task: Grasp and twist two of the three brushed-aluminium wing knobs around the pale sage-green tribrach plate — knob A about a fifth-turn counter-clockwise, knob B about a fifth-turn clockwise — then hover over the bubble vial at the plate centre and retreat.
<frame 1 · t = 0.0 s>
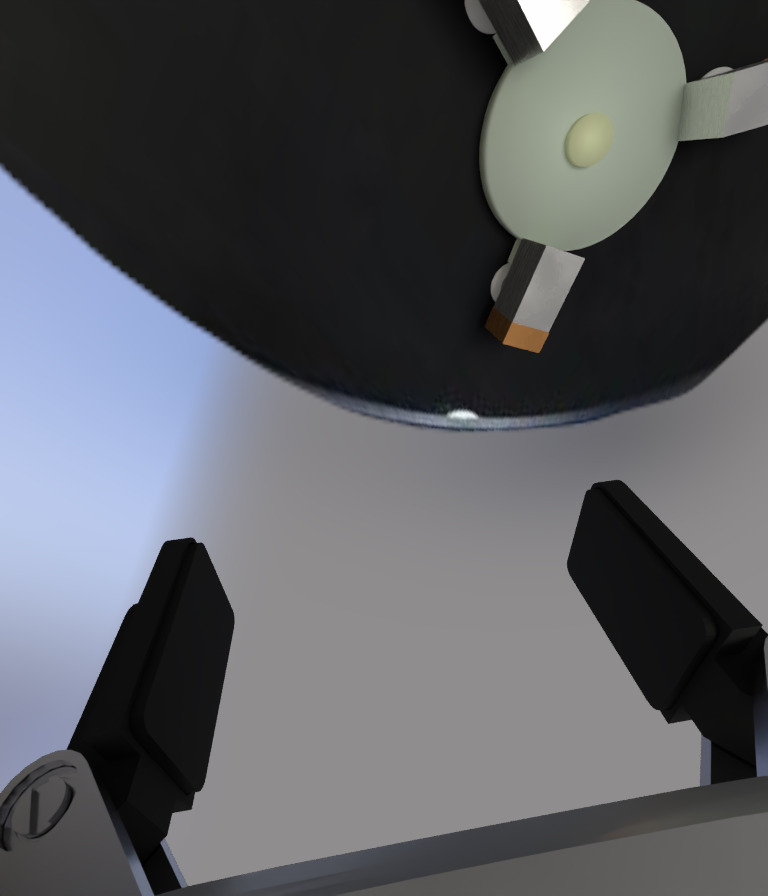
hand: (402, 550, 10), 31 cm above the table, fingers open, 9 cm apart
tribrach: (572, 142, 33), on the table
knob c: (527, 293, 35), point 4 cm above the table, hinge at 0.0°
knob a: (748, 95, 30), point 4 cm above the table, hinge at 0.0°
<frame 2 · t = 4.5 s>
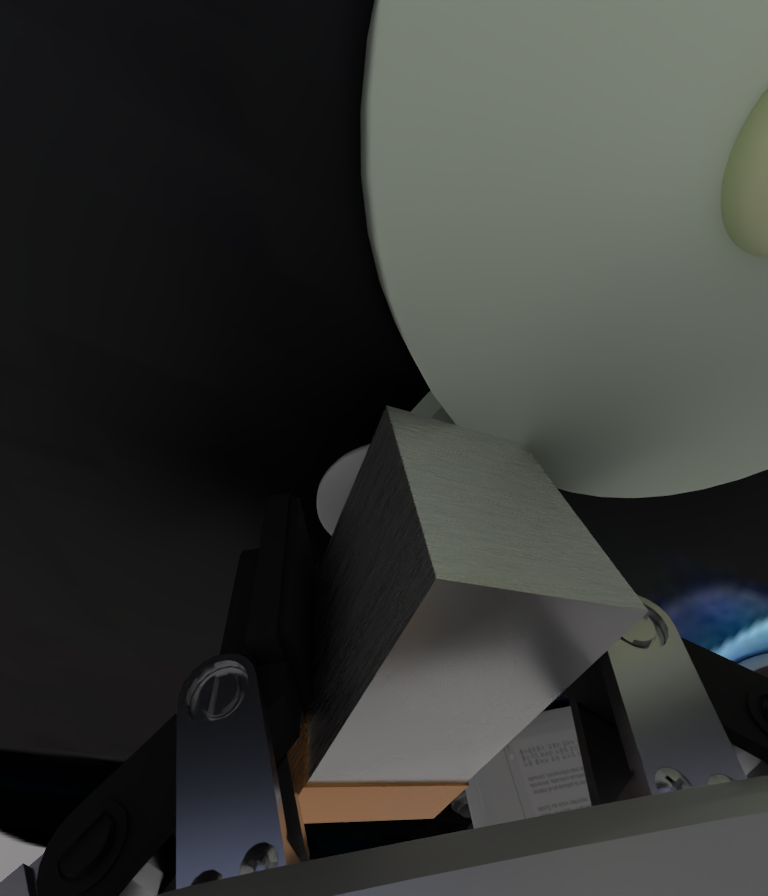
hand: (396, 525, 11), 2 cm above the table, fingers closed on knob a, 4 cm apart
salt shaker: (487, 793, 29), on the table
tribrach: (721, 155, 9), on the table
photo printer: (541, 716, 23), on the table
knob a: (404, 595, 10), point 4 cm above the table, hinge at 19.2°, touching gripper
supplement bottle: (745, 671, 23), on the table
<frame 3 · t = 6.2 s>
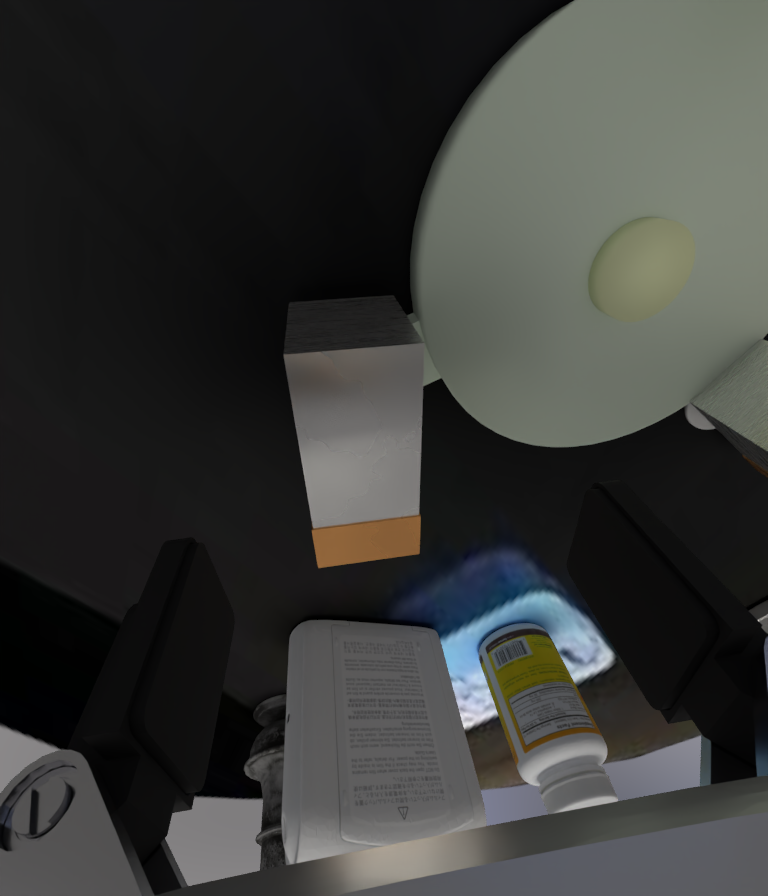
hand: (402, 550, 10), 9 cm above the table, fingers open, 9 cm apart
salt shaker: (288, 707, 33), on the table
tribrach: (599, 258, 16), on the table
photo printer: (364, 633, 29), on the table
knob a: (354, 422, 15), point 4 cm above the table, hinge at 67.9°
supplement bottle: (510, 638, 32), on the table
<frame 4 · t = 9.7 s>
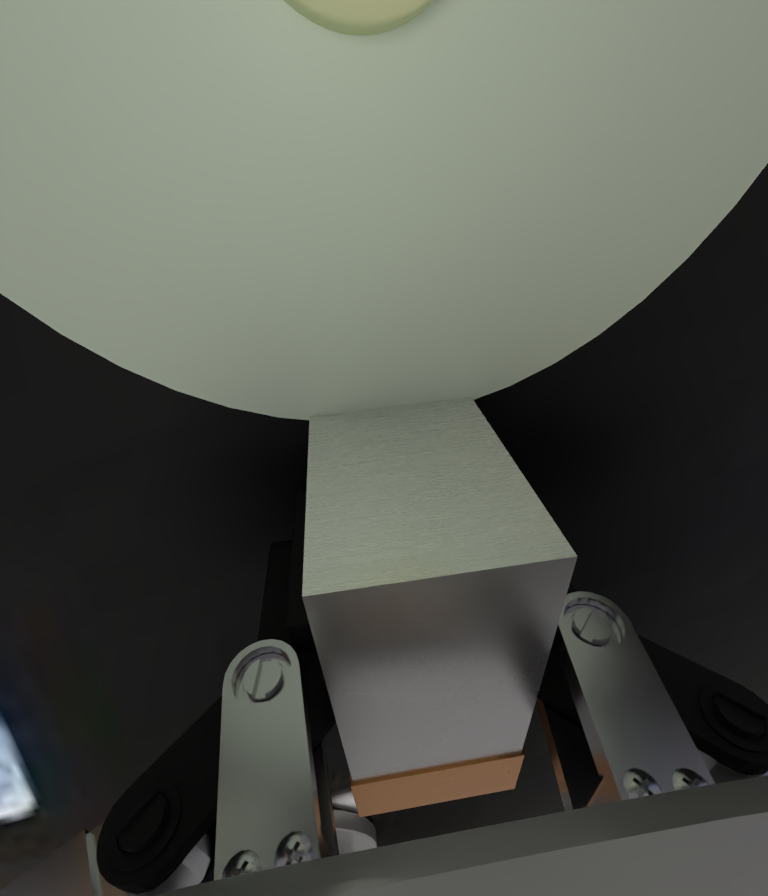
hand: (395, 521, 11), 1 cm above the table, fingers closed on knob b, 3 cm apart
knob b: (409, 584, 10), point 4 cm above the table, hinge at -0.1°, touching gripper
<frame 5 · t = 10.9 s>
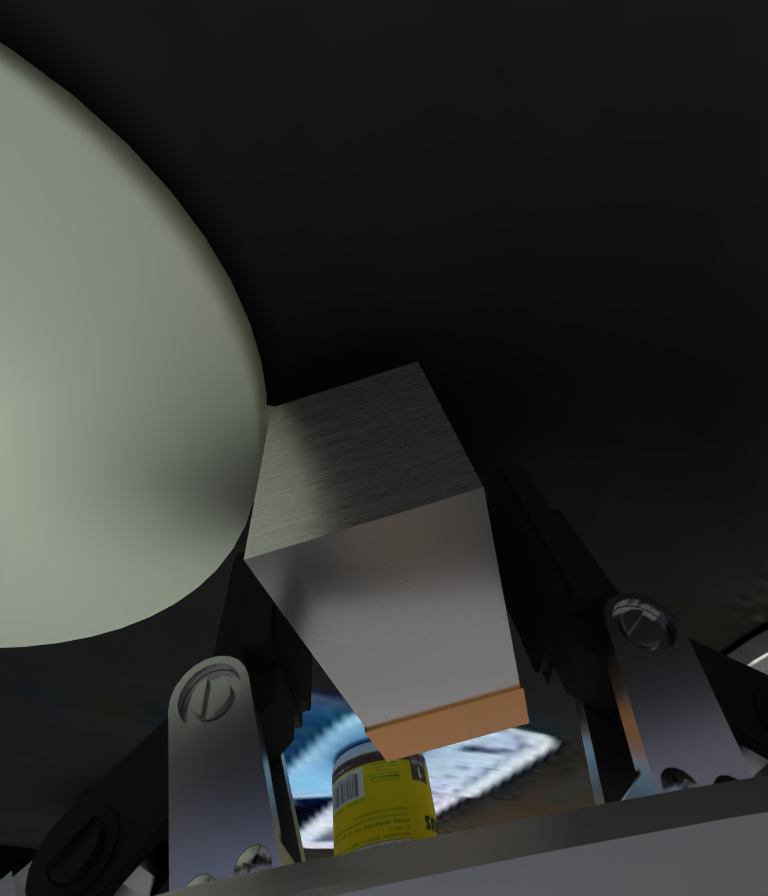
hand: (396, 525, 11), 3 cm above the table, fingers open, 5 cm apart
knob b: (397, 546, 10), point 4 cm above the table, hinge at -57.5°
supplement bottle: (377, 751, 25), on the table
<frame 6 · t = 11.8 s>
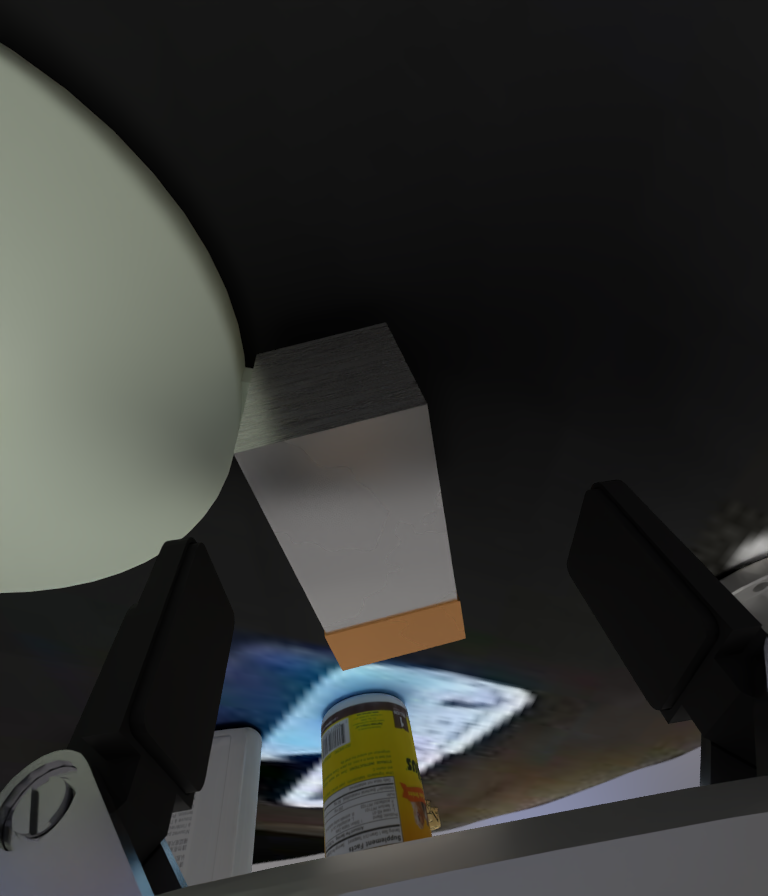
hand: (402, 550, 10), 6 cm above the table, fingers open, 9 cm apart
knob b: (361, 485, 12), point 4 cm above the table, hinge at -62.3°
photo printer: (177, 742, 26), on the table
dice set: (410, 799, 41), on the table
supplement bottle: (363, 707, 27), on the table
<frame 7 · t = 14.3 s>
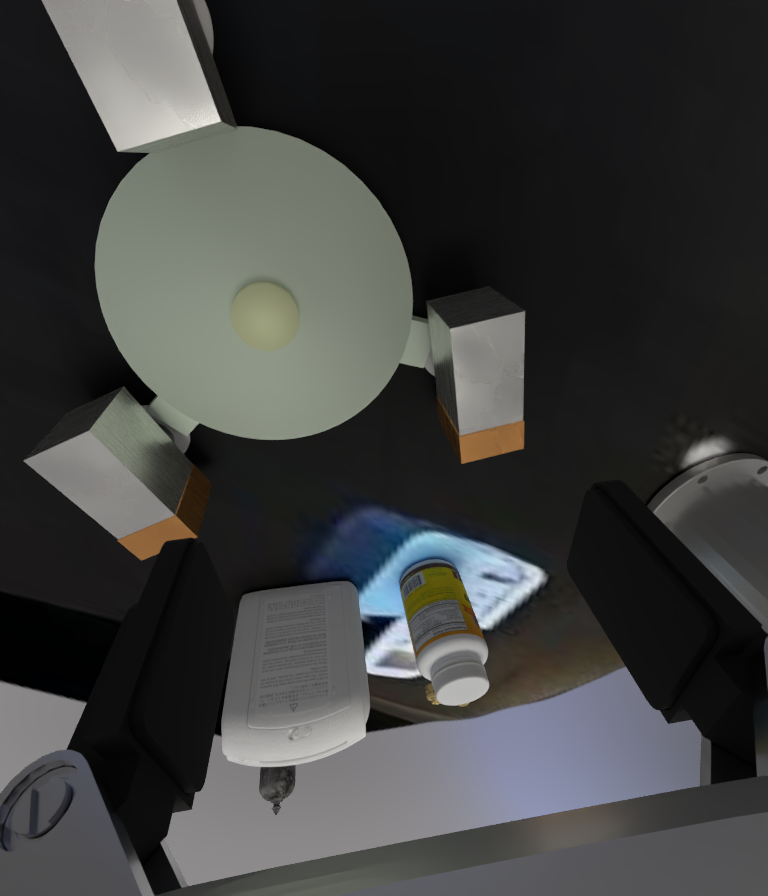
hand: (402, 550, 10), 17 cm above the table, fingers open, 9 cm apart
knob b: (471, 370, 23), point 4 cm above the table, hinge at -62.9°
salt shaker: (282, 661, 42), on the table
tribrach: (269, 303, 23), on the table
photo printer: (299, 595, 37), on the table
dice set: (445, 682, 52), on the table
knob a: (137, 467, 23), point 4 cm above the table, hinge at 68.3°
supplement bottle: (427, 574, 38), on the table
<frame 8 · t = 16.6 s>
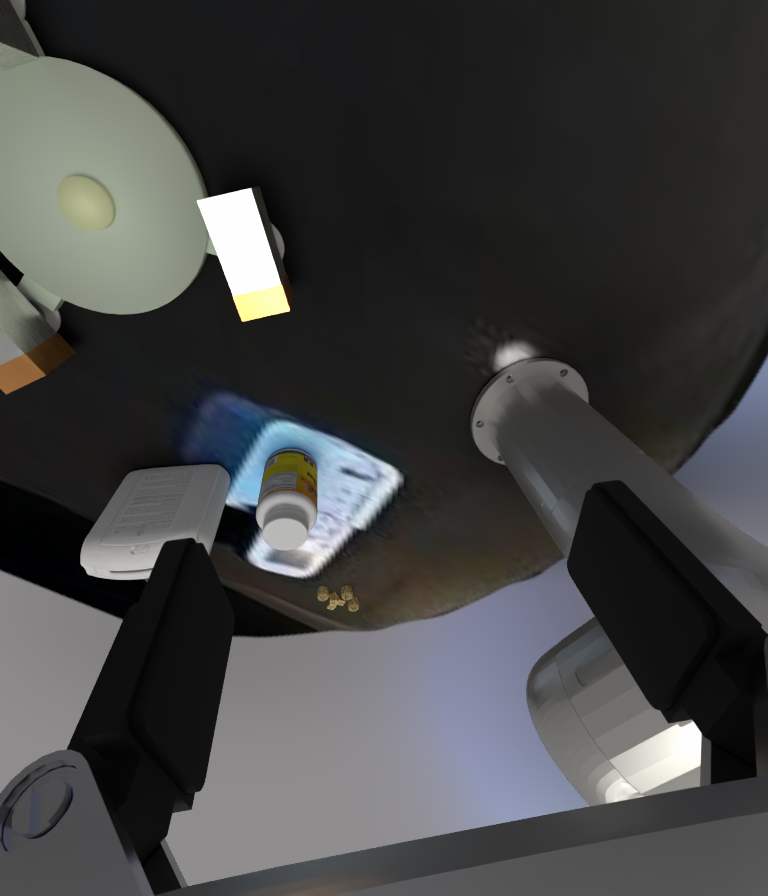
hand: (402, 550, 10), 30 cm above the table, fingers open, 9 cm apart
knob b: (252, 252, 30), point 4 cm above the table, hinge at -62.9°
tribrach: (102, 202, 30), on the table
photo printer: (181, 478, 44), on the table
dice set: (339, 590, 59), on the table
knob a: (5, 325, 31), point 4 cm above the table, hinge at 68.3°
supplement bottle: (291, 466, 45), on the table
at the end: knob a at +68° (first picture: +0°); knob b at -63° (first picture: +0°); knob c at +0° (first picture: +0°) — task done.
